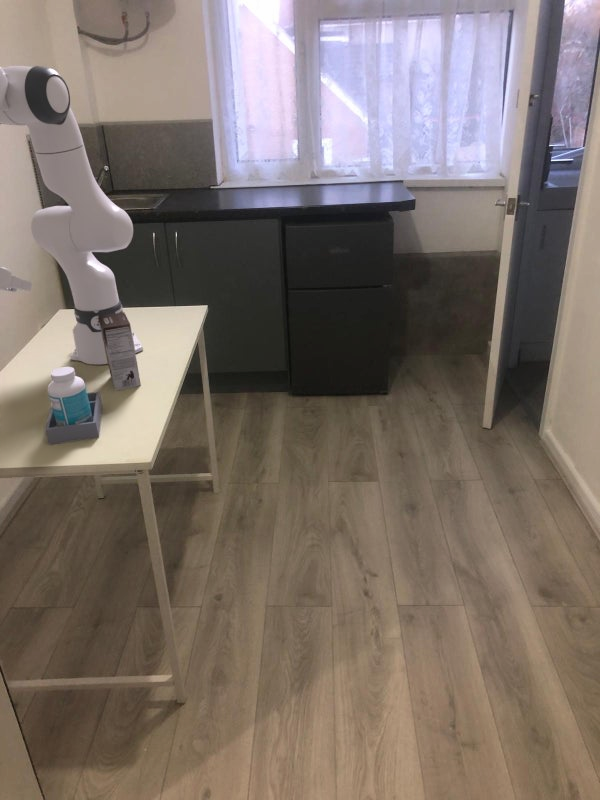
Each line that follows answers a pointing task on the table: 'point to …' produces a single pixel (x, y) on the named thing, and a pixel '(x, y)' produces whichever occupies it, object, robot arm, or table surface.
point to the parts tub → (76, 430)
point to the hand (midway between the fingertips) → (23, 287)
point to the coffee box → (119, 350)
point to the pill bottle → (69, 398)
